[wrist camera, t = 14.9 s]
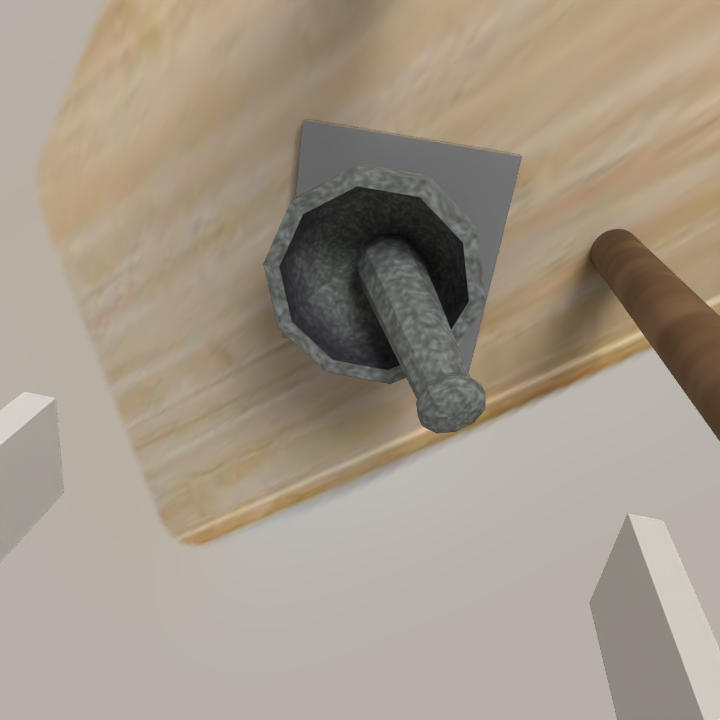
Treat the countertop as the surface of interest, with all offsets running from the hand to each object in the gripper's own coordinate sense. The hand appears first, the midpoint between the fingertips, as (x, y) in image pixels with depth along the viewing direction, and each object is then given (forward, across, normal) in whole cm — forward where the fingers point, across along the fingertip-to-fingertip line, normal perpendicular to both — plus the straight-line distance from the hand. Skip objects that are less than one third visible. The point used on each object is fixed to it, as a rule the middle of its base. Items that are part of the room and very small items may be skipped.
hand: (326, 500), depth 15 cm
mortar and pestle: (+22, 0, 0) cm, 22 cm away
